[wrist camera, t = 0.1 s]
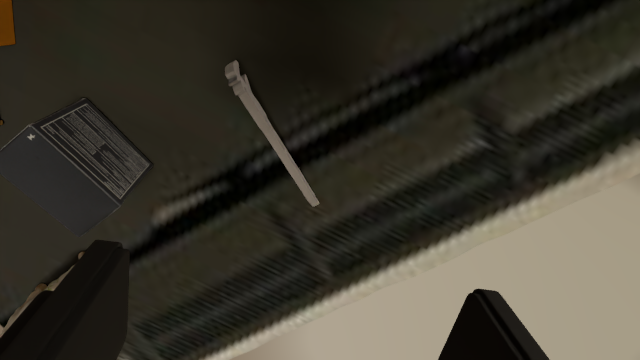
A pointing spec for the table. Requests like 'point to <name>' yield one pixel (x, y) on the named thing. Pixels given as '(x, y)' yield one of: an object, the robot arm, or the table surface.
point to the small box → (74, 165)
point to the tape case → (6, 23)
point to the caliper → (266, 127)
